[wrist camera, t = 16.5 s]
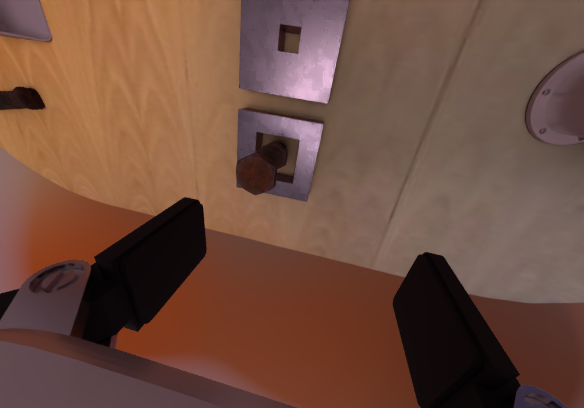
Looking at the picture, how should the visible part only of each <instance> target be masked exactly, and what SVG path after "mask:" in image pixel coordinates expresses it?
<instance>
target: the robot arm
mask: <svg viewBox="0 0 584 408" xmlns="http://www.w3.org/2000/svg"><path fill="white" fill-rule="evenodd" d="M526 123H527V127H528V129H529V131H530V133H531V134H532V135H533V136H534V137H535V138H536V139H538V140H540V141H542V142H545V143H549V144H554V145H572V144H578V143H581V142H584V51H582V52H580V53H578V54H576V55H574V56H573V57H571V58H569V59H567V60H566V61H565V62H563V63H562V64H560V65H559V66H557V67H556V68H555V69H554V70H553V71H552V72H551V73H550V74H549V75H547V77H546V78H545V79H544V80H543V81H542V82H541V83H540V85H539V86H538V88H537V89H536V91H535V92H534V93H533V95H532V98H531V100H530V102H529V104H528V108H527V112H526ZM205 254H206V238H205V225H204V212H203V205H202V204H200V202H199V201H198V200H196V199H191V198H187V197H185V198H183V199H181V200H180V201H178V202H177V203H175V204H173V205H172V206H170V207H169V208H167V209H166V210H164V211H163V212H161V213H160V214H158V215H157V216H155V217H154V218H152V219H151V220H149V221H148V222H146V223H145V224H143V225H142V226H140V227H139V228H137V229H136V230H134V231H133V232H131V233H130V234H128V235H127V236H125V237H124V238H122V239H121V240H119V241H118V242H116V243H115V244H113V245H112V246H110V247H109V248H107V249H106V250H104V251H103V252H101V253H99V254H98V255H97V256H95V257H94V258H95V260H96V263H94V264H93V265H90V264H89V263H88V262H86V261H84V260H67V261H62V262H58V263H55V264H52V265H50V266H48V267H45V268H43V269H41V270H39V271H38V272H36V273H34V274H33V275H32V276H30V277H29V278H28V279H27V280H26V281H25V282H24V283H23V284H22V286H21V288H20V289H17V290H13V291H9V292H5V293H1V294H0V408H297V407H293V406H291V405H287V404H284V403H281V402H278V401H275V400H272V399H269V398H266V397H263V396H260V395H257V394H253V393H251V392H248V391H245V390H242V389H238V388H235V387H232V386H229V385H226V384H223V383H220V382H217V381H214V380H211V379H208V378H205V377H202V376H198V375H195V374H192V373H189V372H186V371H183V370H180V369H177V368H173V367H170V366H167V365H164V364H161V363H158V362H155V361H151V360H148V359H145V358H142V357H139V356H136V355H133V354H130V353H127V352H123V351H120V350H117V349H116V343H117V335H118V332H119V331H120V330H121V329H122V328H123V327H125V328H128V329H131V330H134V331H137V332H138V331H139V330H140V329H141V327H142V326H143V325H144V324H147V323H149V322H150V321H151V320H152V319H153V318H154V317H155V315H156V314H157V313H158V312H159V311H160V309H161V308H162V307H163V306H164V305H165V303H166V302H167V301H168V300H169V299H170V297H171V296H172V295H173V294H174V293H175V291H176V290H177V289H178V288H179V287H180V285H181V284H182V283H183V282H184V281H185V279H186V278H187V277H188V276H189V275H190V273H191V272H192V271H193V270H194V269H195V267H196V266H197V265H198V264H199V263H200V261H201V260H202V259H203V258H204V256H205ZM393 308H394V312H395V316H396V319H397V324H398V328H399V332H400V335H401V339H402V343H403V347H404V351H405V355H406V359H407V363H408V367H409V371H410V375H411V379H412V382H413V386H414V390H415V394H416V398H417V401H418V404H419V406H420V407H421V408H568V407H567V406H565V405H564V404H563V403H562V402H560V401H559V400H558V399H556V398H555V397H553V396H552V395H550V394H549V393H547V392H546V391H543V390H541V389H539V388H537V387H534V386H530V385H523V386H521V385H520V384H519V382H518V380H517V379H516V377H517V376H519V375H520V374H519V373H518V371H517V369H516V368H515V366H514V365H513V363H512V362H511V360H510V359H509V357H508V355H507V354H506V352H505V351H504V349H503V348H502V346H501V345H500V343H499V342H498V340H497V338H496V337H495V335H494V334H493V332H492V331H491V329H490V328H489V326H488V325H487V323H486V321H485V320H484V318H483V317H482V315H481V314H480V312H479V311H478V309H477V308H476V306H475V305H474V303H473V301H472V300H471V298H470V297H469V295H468V294H467V292H466V290H465V289H464V287H463V286H462V284H461V283H460V281H459V280H458V278H457V277H456V275H455V273H454V272H453V270H452V269H451V267H450V266H449V264H448V263H447V261H446V260H445V258H444V257H443V256H441V255H437V254H433V253H428V252H425V253H423V254H422V255H418V256H417V258H416V260H415V261H414V263H413V265H412V267H411V268H410V270H409V272H408V274H407V275H406V277H405V279H404V281H403V283H402V284H401V286H400V288H399V289H398V291H397V293H396V295H395V297H394V299H393Z"/></svg>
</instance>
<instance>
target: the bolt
mask: <svg viewBox="0 0 584 408" xmlns="http://www.w3.org/2000/svg"><path fill="white" fill-rule="evenodd" d="M286 161H287V149H286V146H285V145H284V144H281V143H278V142H277V141H274V142H272V143H269V144H267V145H265V146H263V147H262V148H261V152H260V151H258V152H256V153H253V154H251V155H249V156H246V157H244V158H242V159H240V160H238V161H237V166H236V177H237V182H238V183H239V184H240V186H241V187H243V188H244V189H245V190H246V191H248V192H250V193H252V194H254V195H258V194H261V193H265V192H267V191H269V190H271V189H273V188H274V187H275V186H276V175H277V169H279V168H281V167H283V166H285V165H286Z"/></svg>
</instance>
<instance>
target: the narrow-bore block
mask: <svg viewBox="0 0 584 408" xmlns="http://www.w3.org/2000/svg"><path fill="white" fill-rule="evenodd" d="M348 5H349V0H241V32H240V71H239V88H241V89H246V90H252V91H258V92H264V93H269V94H275V95H281V96H287V97H292V98H298V99H304V100H310V101H315V102H321V103H327V104H328V100H329V95H330V91H331V86H332V81H333V76H334V72H335V67H336V62H337V57H338V52H339V48H340V43H341V38H342V33H343V29H344V24H345V19H346V14H347V10H348ZM285 32H290V33H296V34H301V36H300V44H299V51H298V54H294V53H288V52H283V50H284V41H285Z"/></svg>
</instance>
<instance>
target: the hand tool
mask: <svg viewBox="0 0 584 408" xmlns="http://www.w3.org/2000/svg"><path fill="white" fill-rule="evenodd" d="M44 107H45V105H44V103H43V101H42V99H41V97H40V95H39V94H38V92H37V91H35V90H34V89H31V88H25V87H16V88H14V89H13V91H0V110H5V109H23V108H28V109H33V110H38V109H43V108H44Z"/></svg>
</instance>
